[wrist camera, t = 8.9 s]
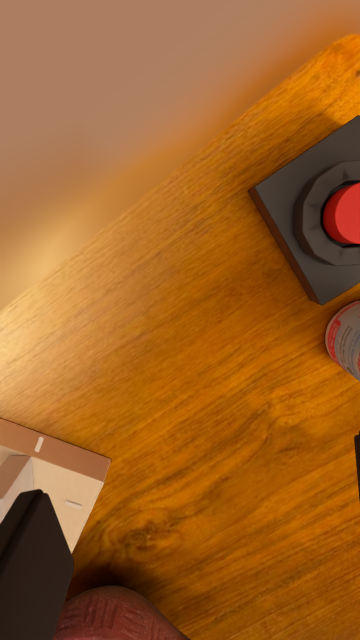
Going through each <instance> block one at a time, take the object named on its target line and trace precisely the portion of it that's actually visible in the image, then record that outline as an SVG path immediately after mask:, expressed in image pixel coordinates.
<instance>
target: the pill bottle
mask: <svg viewBox="0 0 360 640" xmlns="http://www.w3.org/2000/svg"><path fill="white" fill-rule="evenodd" d="M325 343H326V348H327V351H328V353H329V355H330V356H331V358H332V359H333V360H334V361H335V362H336V363H337V364H338V365H339V366H341V367H342V368H343V369H345V370H346V371H347V372H349V373H350V374H351V375H352V376H354V377H355V378H356V379H357V380H359V381H360V300H359V301H356V302H353V303H351V304H349V305H347V306H345V307H344V308H342V309H341V310H340V311H339V312H338V313H336V314H335V316H334V317H333V318H332V319H331V321H330V322H329V325H328V327H327V330H326V335H325Z"/></svg>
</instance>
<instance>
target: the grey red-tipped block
mask: <svg viewBox="0 0 360 640" xmlns="http://www.w3.org/2000/svg"><path fill="white" fill-rule="evenodd" d="M30 490H34V486H33V471H32V457H31V456H17V455H9V456H8V458H7V459H6V460H5V462H4V463H3V464H2V465H1V467H0V524H1V522H2V520H3V519H4V517H5V515H6V514H7V512H8V511H9V509H10V507H11V506H12V504H13V502H14V501H15V499H16V498H17V496H18V495H19V494H20V493H21V492H25V491H30Z"/></svg>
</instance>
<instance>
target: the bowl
mask: <svg viewBox="0 0 360 640" xmlns="http://www.w3.org/2000/svg"><path fill="white" fill-rule="evenodd" d="M53 640H191V639H189V638H188V637H187V636H185V635H184V634H183V633H182V632H180V631H179V630H178V629H177V628H176V627H175V626H174V625H173V624H172V623H171V622H170V621H169V620H168V619H167V618H166V617H165V616H164V615H163V614H162V613H161V612H160V611H159V609H158V608H157V607H156V606H154V605H153V604H152V603H151V602H150V601H149V600H148V599H146V598H145V597H144V596H143V595H141V594H139V593H137V592H135V591H133V590H131V589H129V588H126V587H122V586H117V585H109V586H101V587H97V588H93V589H89V590H86V591H84V592H82V593H80V594H78V595H76V596H74V597H73V598H71V599H70V600H68V601H67V602H66V603H65V604H64V605H63V607H62V611H61V614H60V617H59V620H58V623H57V627H56V630H55V633H54V636H53Z"/></svg>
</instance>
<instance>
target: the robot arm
mask: <svg viewBox="0 0 360 640" xmlns="http://www.w3.org/2000/svg"><path fill="white" fill-rule="evenodd" d="M354 442H355V453H356V464H357V476H358V487H359V499H360V431H359V435H356V436H355V437H354ZM73 571H74V560H73V557H72V554H71V551H70V549H69V546H68V544H67V541H66V538H65V536H64V533H63V531H62V528H61V525H60V523H59V520H58V517H57V515H56V512H55V510H54V507H53V504H52V502H51V499H50V497H49V495H48V494H47V493H44V492H43V491H42V490H41V489H36V490H30V491H25V492H21V493H20V494H19V495H18V496H17V498H16V499H15V501H14V502H13V504H12V506H11V507H10V509H9V511H8V512H7V514H6V515H5V517H4V519H3V520H2V522H1V524H0V640H53V636H54V633H55V630H56V627H57V623H58V620H59V617H60V614H61V611H62V607H63V604H64V601H65V598H66V594H67V591H68V588H69V585H70V581H71V578H72V575H73Z"/></svg>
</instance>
